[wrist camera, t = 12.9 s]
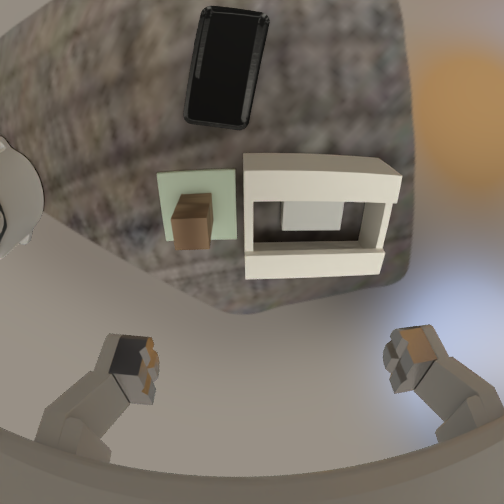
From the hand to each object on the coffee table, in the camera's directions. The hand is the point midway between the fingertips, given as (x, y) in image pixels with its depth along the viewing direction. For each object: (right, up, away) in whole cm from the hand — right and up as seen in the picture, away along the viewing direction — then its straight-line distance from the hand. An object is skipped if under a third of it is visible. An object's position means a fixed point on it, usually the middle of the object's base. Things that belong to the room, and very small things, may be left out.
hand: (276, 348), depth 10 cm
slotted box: (+7, +10, +31) cm, 33 cm away
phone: (-4, +25, +21) cm, 33 cm away
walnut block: (-8, +9, +30) cm, 32 cm away
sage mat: (-8, +9, +30) cm, 33 cm away
